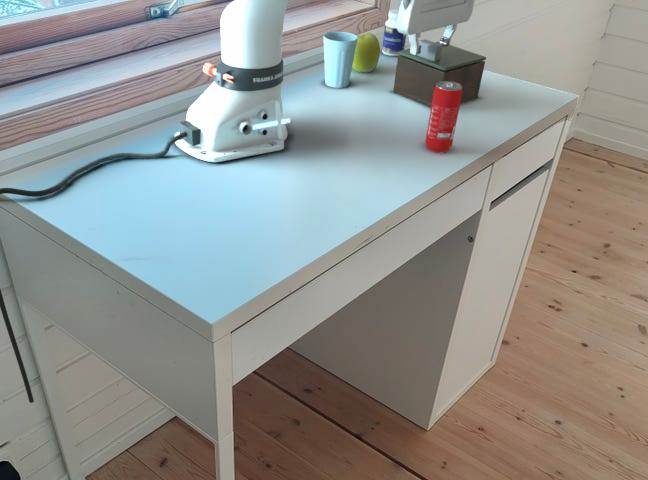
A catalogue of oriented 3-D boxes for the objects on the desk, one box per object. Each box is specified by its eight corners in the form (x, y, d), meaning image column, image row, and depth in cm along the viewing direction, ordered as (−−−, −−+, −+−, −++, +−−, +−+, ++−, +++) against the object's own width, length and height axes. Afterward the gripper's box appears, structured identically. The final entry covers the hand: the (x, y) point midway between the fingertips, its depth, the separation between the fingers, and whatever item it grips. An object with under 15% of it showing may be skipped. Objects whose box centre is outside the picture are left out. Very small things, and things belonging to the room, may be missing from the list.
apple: (389, 65, 167) (385, 25, 159) (366, 81, 165) (361, 42, 157) (366, 57, 171) (361, 18, 164) (343, 72, 169) (337, 33, 161)
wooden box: (438, 110, 148) (444, 72, 143) (393, 92, 156) (397, 55, 151) (477, 97, 155) (485, 61, 150) (432, 80, 163) (438, 45, 158)
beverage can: (423, 151, 132) (434, 88, 124) (425, 141, 136) (436, 79, 128) (450, 155, 131) (462, 91, 123) (451, 144, 135) (464, 82, 127)
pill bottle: (379, 54, 177) (384, 13, 170) (384, 48, 181) (389, 7, 174) (401, 57, 175) (407, 15, 169) (405, 51, 179) (411, 10, 173)
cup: (360, 86, 158) (364, 38, 151) (334, 91, 155) (337, 43, 148) (340, 76, 163) (343, 29, 156) (314, 81, 160) (317, 34, 153)
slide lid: (445, 71, 143) (448, 53, 141) (398, 54, 151) (400, 36, 148) (485, 59, 150) (489, 42, 147) (438, 44, 157) (441, 27, 155)
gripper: (418, -13, 131) (407, 62, 140) (485, -26, 141) (471, 45, 150) (394, -19, 134) (385, 54, 143) (461, -32, 144) (449, 38, 153)
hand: (429, 49), depth 147 cm, fingers open, 8 cm apart
